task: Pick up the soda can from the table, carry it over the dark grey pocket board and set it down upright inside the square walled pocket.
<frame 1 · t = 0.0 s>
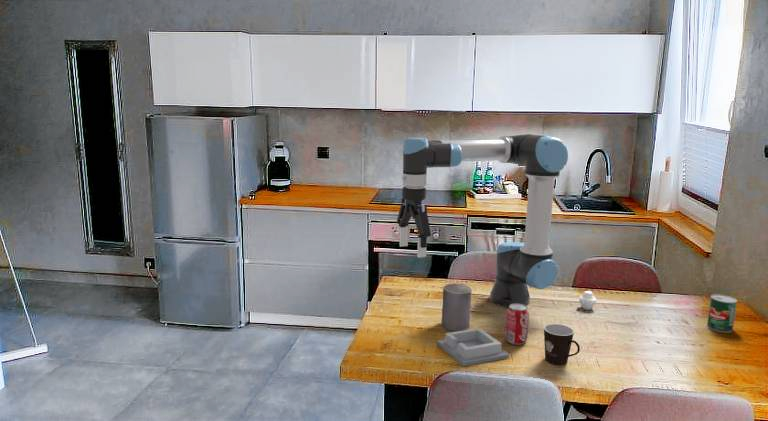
hand: (412, 251, 182), 28 cm above the table, tool pointing down, fingers open, 13 cm apart
pocket board: (472, 350, 175), on the table
canned tomato: (719, 328, 196), on the table
white lidded jar: (586, 308, 212), on the table
pillar candle: (455, 326, 194), on the table
coffee mug: (558, 363, 168), on the table
soda can: (515, 342, 182), on the table
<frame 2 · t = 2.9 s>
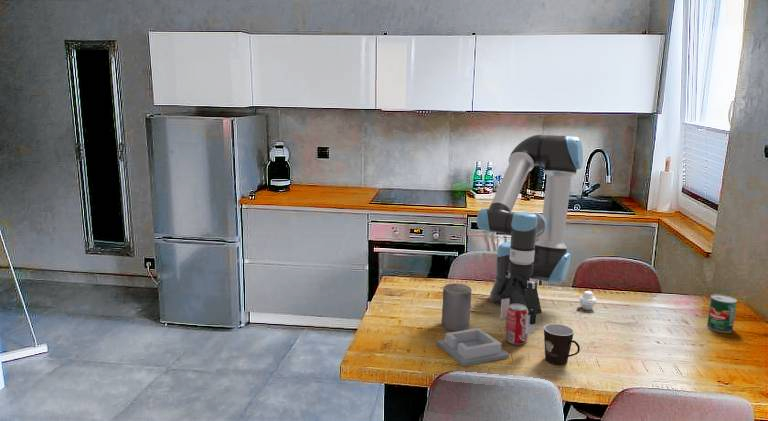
hand: (516, 325, 181), 6 cm above the table, tool pointing down, fingers open, 13 cm apart
nothing on the table moved.
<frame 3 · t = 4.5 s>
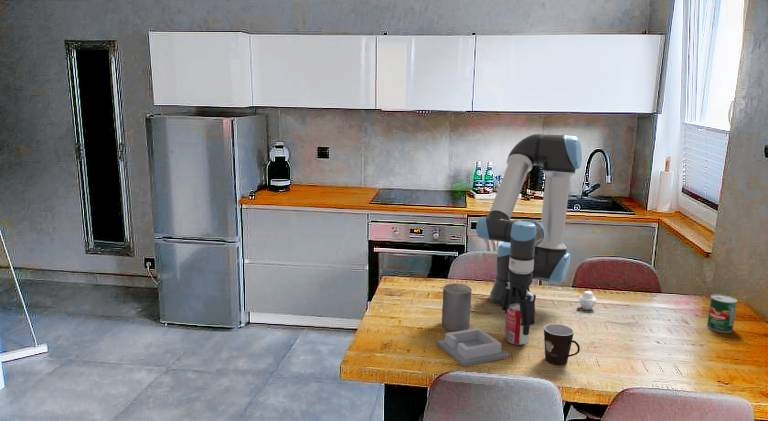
hand: (516, 338, 182), 1 cm above the table, tool pointing down, fingers closed on soda can, 7 cm apart
soda can: (515, 342, 182), on the table, touching gripper
everything else where it was.
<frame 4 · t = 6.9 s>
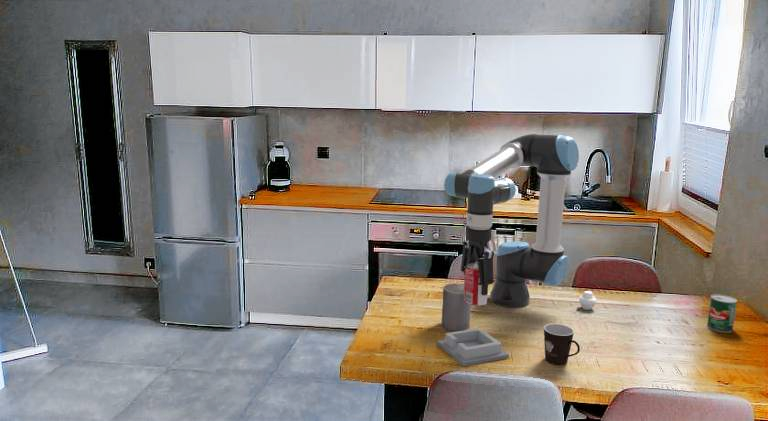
hand: (475, 299, 172), 17 cm above the table, tool pointing down, fingers closed on soda can, 7 cm apart
soda can: (474, 303, 172), point 15 cm above the table, touching gripper
everything else where it was.
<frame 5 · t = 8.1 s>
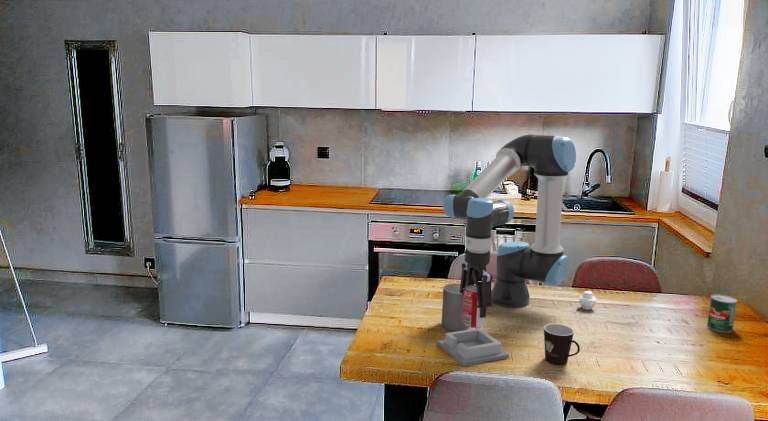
hand: (473, 321, 173), 10 cm above the table, tool pointing down, fingers closed on soda can, 7 cm apart
soda can: (473, 325, 173), point 8 cm above the table, touching gripper
everything else where it was.
when the fingers open (4 cm above the table, at t = 9.8 s): soda can drops 2 cm, resting on pocket board.
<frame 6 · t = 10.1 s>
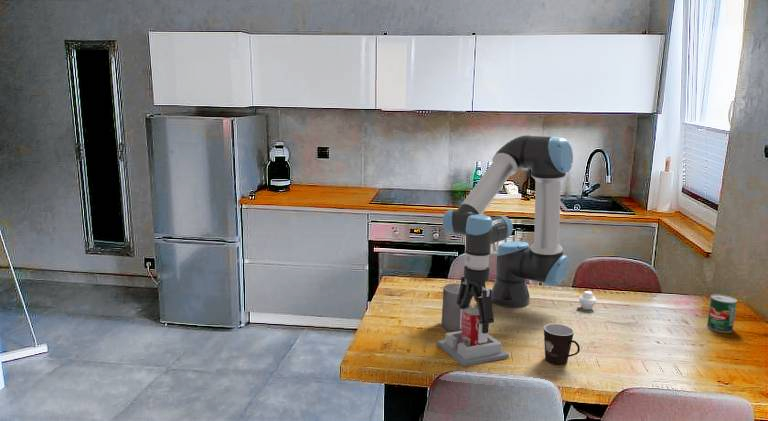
hand: (473, 335, 174), 5 cm above the table, tool pointing down, fingers open, 10 cm apart
soda can: (472, 347, 175), point 1 cm above the table, touching pocket board
everything else where it was.
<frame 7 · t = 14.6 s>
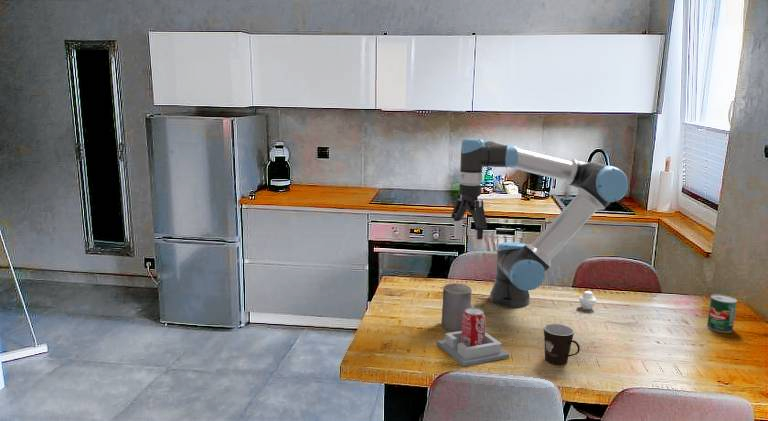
hand: (467, 243, 199), 27 cm above the table, tool pointing down, fingers open, 13 cm apart
nothing on the table moved.
at the end: soda can 0.0 cm off-centre on the pocket board, point 1.0 cm above the pocket board's base; soda can tilted 0°; the gripper is holding nothing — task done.
